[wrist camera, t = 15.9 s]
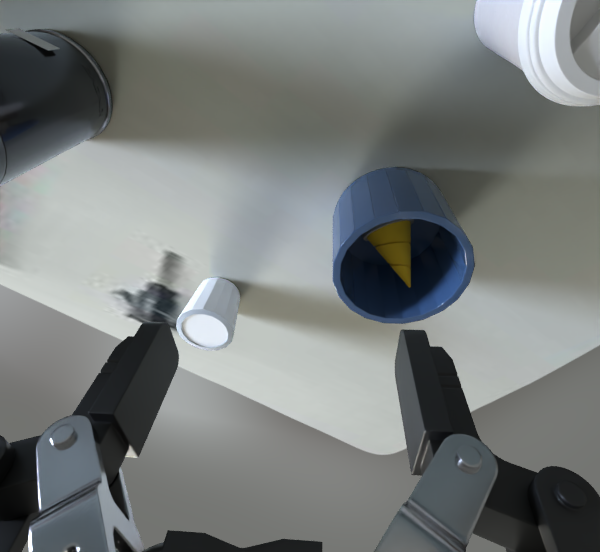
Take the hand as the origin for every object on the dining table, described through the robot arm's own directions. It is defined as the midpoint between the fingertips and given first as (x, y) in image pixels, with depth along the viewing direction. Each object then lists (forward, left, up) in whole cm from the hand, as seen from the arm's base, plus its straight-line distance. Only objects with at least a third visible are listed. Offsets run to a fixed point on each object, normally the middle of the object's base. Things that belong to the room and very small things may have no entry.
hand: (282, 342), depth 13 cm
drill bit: (+8, -10, -28) cm, 30 cm away
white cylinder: (-13, -21, -28) cm, 38 cm away
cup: (+8, -10, -28) cm, 31 cm away
